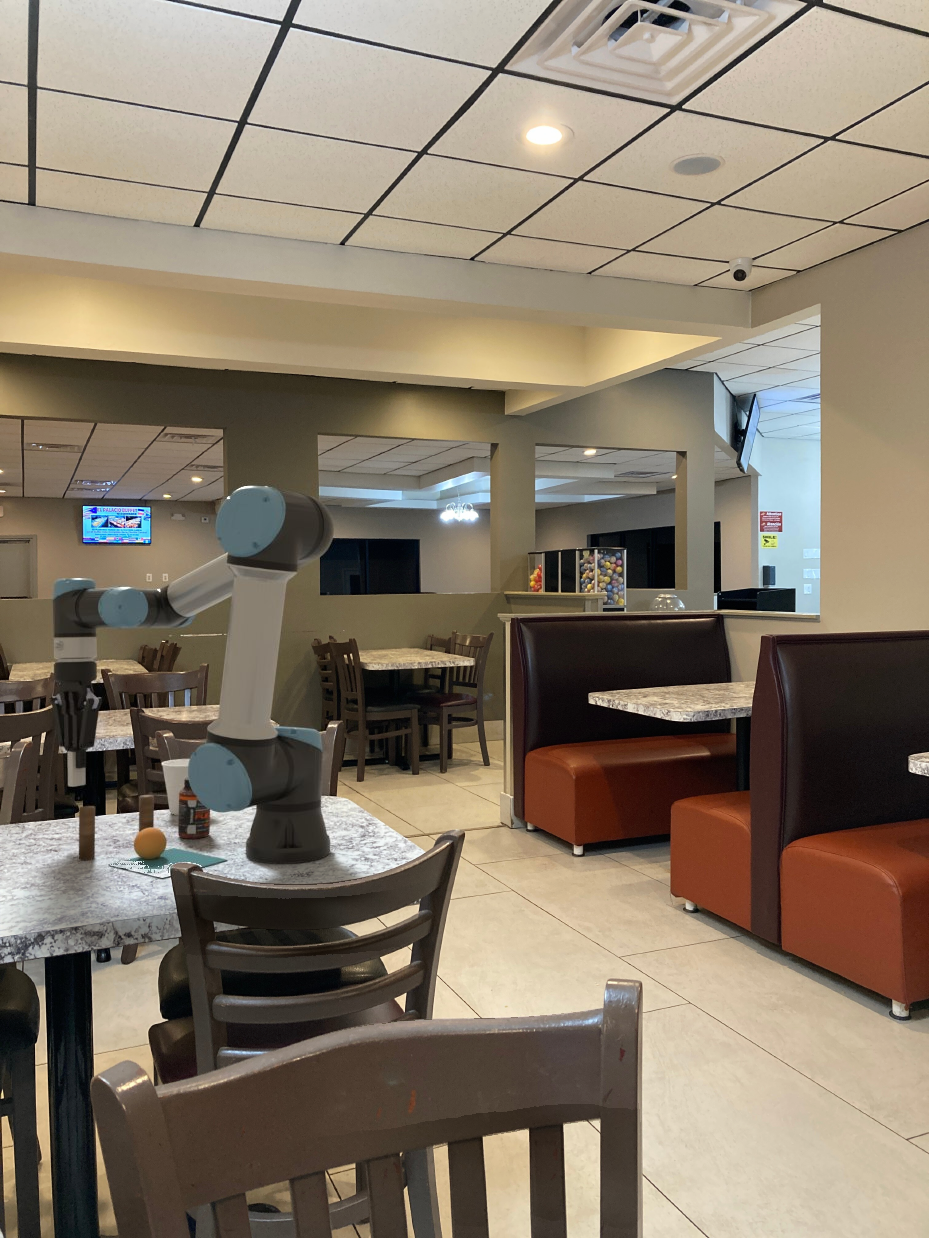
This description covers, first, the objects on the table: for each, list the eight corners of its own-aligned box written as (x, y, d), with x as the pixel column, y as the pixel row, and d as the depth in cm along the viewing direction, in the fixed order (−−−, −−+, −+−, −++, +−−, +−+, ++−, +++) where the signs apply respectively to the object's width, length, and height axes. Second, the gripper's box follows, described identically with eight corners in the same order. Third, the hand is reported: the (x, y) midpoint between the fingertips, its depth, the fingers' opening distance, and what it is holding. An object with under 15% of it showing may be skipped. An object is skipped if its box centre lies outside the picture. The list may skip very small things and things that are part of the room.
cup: (215, 808, 208) (215, 759, 208) (198, 818, 198) (198, 766, 198) (172, 807, 209) (172, 758, 209) (152, 817, 199) (153, 765, 199)
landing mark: (227, 860, 165) (227, 859, 165) (162, 879, 153) (162, 877, 153) (174, 849, 172) (174, 847, 172) (108, 865, 161) (108, 864, 161)
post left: (97, 857, 165) (98, 807, 165) (84, 861, 163) (85, 809, 163) (88, 855, 167) (89, 805, 167) (75, 858, 165) (76, 807, 165)
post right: (156, 843, 176) (156, 795, 176) (144, 846, 174) (145, 798, 174) (147, 841, 177) (147, 794, 177) (135, 844, 175) (136, 796, 175)
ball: (148, 836, 170) (162, 861, 168) (122, 842, 165) (136, 868, 163) (164, 818, 167) (177, 844, 165) (138, 824, 163) (151, 851, 161)
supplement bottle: (198, 840, 179) (198, 781, 179) (171, 838, 181) (172, 779, 181) (216, 834, 185) (216, 776, 184) (190, 831, 186) (190, 774, 186)
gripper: (36, 660, 178) (38, 785, 177) (78, 661, 171) (80, 791, 170) (72, 659, 184) (73, 779, 184) (114, 659, 177) (115, 785, 177)
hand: (76, 785), depth 177 cm, fingers closed
